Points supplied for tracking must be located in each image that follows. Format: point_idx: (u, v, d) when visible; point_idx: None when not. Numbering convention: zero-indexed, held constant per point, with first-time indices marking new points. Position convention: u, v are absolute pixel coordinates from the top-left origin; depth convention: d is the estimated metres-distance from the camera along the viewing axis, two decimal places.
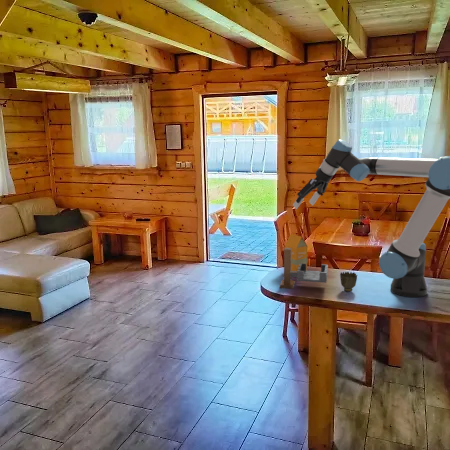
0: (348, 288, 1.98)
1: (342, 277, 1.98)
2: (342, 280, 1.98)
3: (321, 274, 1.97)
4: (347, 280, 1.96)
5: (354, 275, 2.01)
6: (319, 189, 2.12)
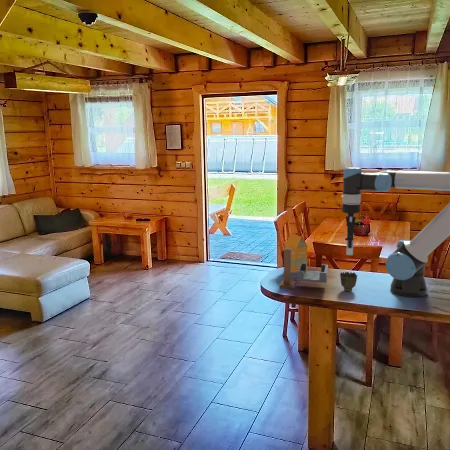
0: (348, 288, 1.98)
1: (342, 277, 1.98)
2: (342, 280, 1.98)
3: (321, 274, 1.97)
4: (347, 280, 1.96)
5: (354, 275, 2.01)
6: None
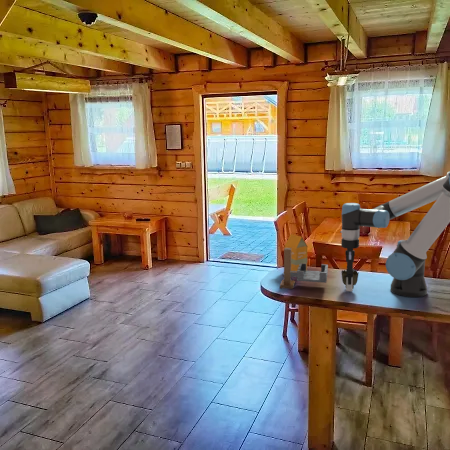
0: None
1: (343, 275, 1.97)
2: (343, 278, 1.98)
3: (321, 274, 1.97)
4: None
5: (355, 273, 2.00)
6: None
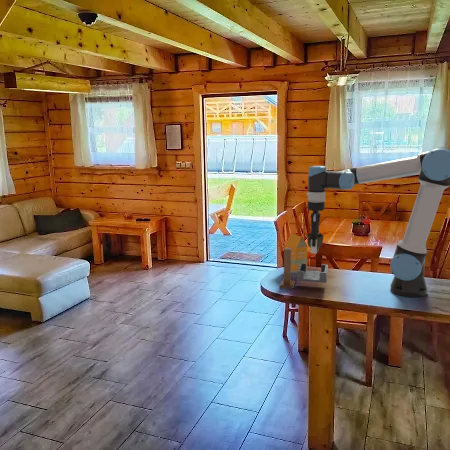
0: None
1: (308, 237, 1.99)
2: (308, 240, 2.00)
3: (321, 274, 1.97)
4: None
5: (321, 236, 2.02)
6: None
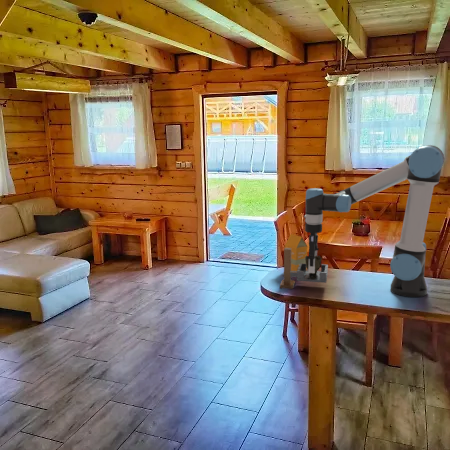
0: None
1: (307, 260, 2.03)
2: (307, 263, 2.04)
3: (321, 274, 1.97)
4: None
5: (319, 258, 2.06)
6: (314, 245, 2.06)
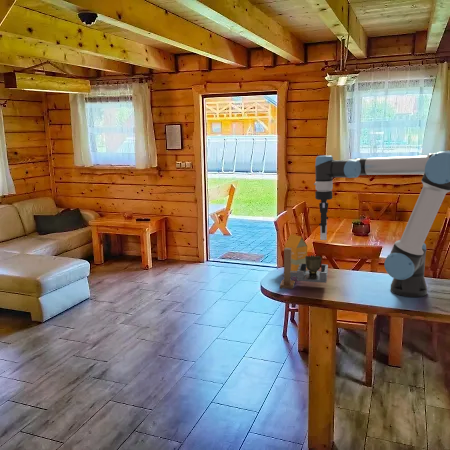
0: (312, 271, 2.04)
1: (307, 260, 2.04)
2: (307, 263, 2.04)
3: (321, 274, 1.97)
4: (311, 263, 2.03)
5: (319, 258, 2.07)
6: None
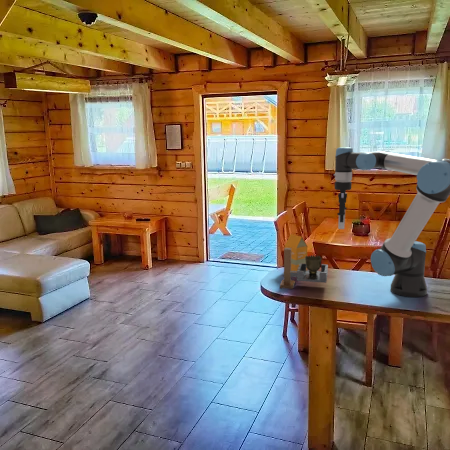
0: (312, 271, 2.04)
1: (307, 260, 2.04)
2: (307, 263, 2.04)
3: (321, 274, 1.97)
4: (311, 263, 2.02)
5: (319, 258, 2.06)
6: None
